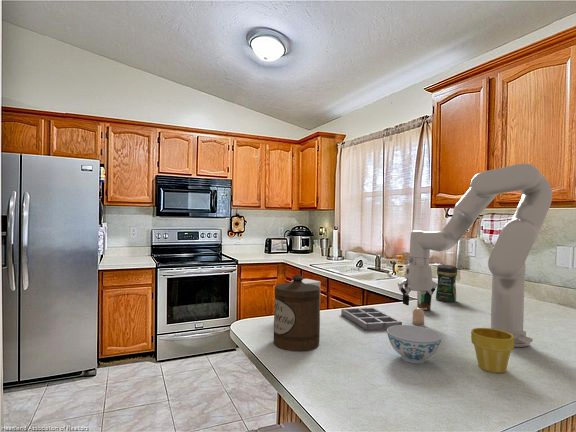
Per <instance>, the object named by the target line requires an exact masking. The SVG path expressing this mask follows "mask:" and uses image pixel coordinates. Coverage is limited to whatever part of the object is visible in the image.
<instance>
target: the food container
mask: <svg viewBox="0 0 576 432" xmlns="http://www.w3.org/2000/svg"><path fill="white" fill-rule="evenodd" d="M416 292H417V294H416V295H417V297H416V298H417V299H416V300H417V301H416V302H417V303H416V306H417V307H416V308H421V309H422V310H423V311H424V312H430V311H431V308H432V301H431V302H430V305H427V304H425V303H424V294H425V293H426V292H425V291H416ZM432 297H433V294H432V295H431V300H432V299H433V298H432Z"/></svg>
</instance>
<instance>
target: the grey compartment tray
mask: <svg viewBox="0 0 576 432" xmlns="http://www.w3.org/2000/svg"><path fill="white" fill-rule="evenodd" d="M340 312H341V314H340V315H341V316H343V317H344V318H345V319H346V320H348V321H350V322H351V323H353V324H354V325H356V326H357V327H360V329H362V330H363V331H365V332H368V331H384V330H386V331H387V329H388V328H389V327H391V326H396V325H403V322H402V321H401V320H399V319H397V318H395V317H394V316H391V315H390V314H387V313H385V312H383V311H382V310H379V309H377V308H375V307H360V308H359V307H354V308H351V307H350V308H341V311H340Z"/></svg>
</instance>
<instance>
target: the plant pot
mask: <svg viewBox="0 0 576 432" xmlns="http://www.w3.org/2000/svg"><path fill="white" fill-rule="evenodd" d="M470 333H471V335H470V337H471V338H470V339H471V343H472V344H473V345H474V351H475V355H476V359H477V360H476V361H477V364H478V367H479V368H480V369H481V370H483V371H486V372H490V373H494V374H495V373H496V374H502V373H505V372H506V371H507V369H508V364H509V361H510V356H511V353H512V351H513V350H514V348H515V347H514V336H513V335H512V334H510V333H508V332H505V331H502V330H497V329H491V327H490V328H489V327H475V328H473V329H471V332H470Z"/></svg>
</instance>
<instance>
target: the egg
mask: <svg viewBox="0 0 576 432" xmlns="http://www.w3.org/2000/svg"><path fill="white" fill-rule="evenodd" d="M411 317H412V319H411V323H412V324H413V325H414V326H424V325H425V311H423V310H422V309H421V308H418V307H415V308H414V309H413V310H412V316H411Z"/></svg>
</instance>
